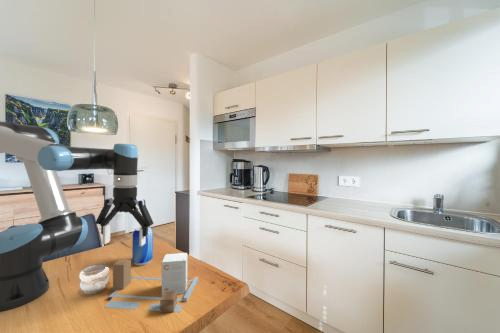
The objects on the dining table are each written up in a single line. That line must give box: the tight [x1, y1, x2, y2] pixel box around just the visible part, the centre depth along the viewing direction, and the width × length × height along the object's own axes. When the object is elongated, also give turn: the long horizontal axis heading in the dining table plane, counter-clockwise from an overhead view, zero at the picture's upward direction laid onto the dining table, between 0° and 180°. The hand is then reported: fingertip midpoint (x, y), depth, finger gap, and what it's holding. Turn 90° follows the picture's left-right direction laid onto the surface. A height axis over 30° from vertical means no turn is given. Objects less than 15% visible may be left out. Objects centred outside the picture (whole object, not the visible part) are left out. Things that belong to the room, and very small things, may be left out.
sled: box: [107, 259, 199, 302], centre depth 75 cm, size 29×12×10 cm, turn 87°
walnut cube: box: [159, 291, 178, 314], centre depth 65 cm, size 4×4×4 cm
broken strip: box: [104, 300, 184, 313], centre depth 66 cm, size 24×3×1 cm, turn 87°
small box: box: [161, 252, 188, 296], centre depth 75 cm, size 8×6×13 cm
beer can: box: [131, 225, 154, 267], centre depth 96 cm, size 8×8×16 cm
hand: (124, 243), depth 76 cm, fingers open, 13 cm apart
